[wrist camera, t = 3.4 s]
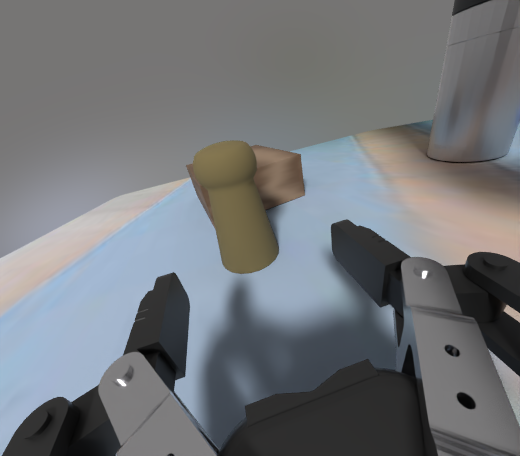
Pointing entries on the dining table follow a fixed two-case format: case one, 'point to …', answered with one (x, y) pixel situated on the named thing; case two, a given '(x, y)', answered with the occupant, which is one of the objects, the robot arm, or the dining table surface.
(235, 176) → the cork
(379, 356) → the dining table surface
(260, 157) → the walnut block
